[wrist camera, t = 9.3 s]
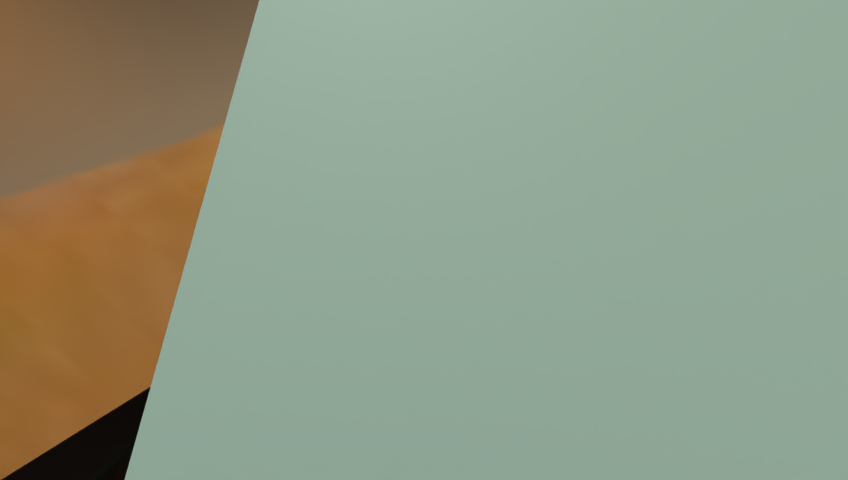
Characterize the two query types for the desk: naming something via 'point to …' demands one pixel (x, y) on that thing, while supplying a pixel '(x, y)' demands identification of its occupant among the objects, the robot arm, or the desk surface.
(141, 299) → the desk surface
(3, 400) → the desk surface
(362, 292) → the pillar
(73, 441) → the robot arm
